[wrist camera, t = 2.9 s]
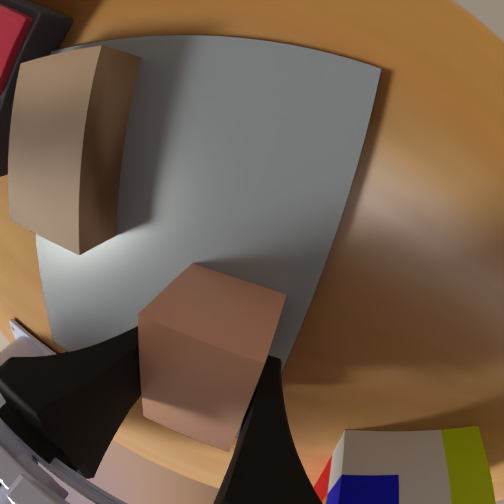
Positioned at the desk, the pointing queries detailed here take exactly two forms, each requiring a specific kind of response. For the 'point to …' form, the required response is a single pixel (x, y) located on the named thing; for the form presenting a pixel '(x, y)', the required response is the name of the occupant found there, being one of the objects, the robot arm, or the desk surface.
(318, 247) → the baseplate
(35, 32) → the calculator
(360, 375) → the desk surface
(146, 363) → the terracotta brick
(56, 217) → the walnut base brick
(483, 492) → the puzzle toy
